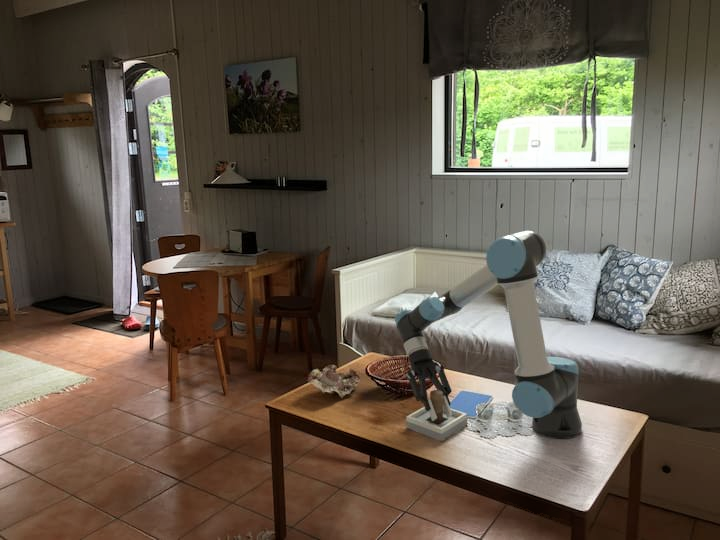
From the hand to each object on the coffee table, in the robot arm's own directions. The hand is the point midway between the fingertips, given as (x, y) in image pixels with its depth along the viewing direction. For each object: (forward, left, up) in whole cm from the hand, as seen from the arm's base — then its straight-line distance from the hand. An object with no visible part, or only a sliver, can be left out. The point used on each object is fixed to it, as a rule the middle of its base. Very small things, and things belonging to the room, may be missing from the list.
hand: (442, 417), depth 194 cm
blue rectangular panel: (+5, -22, -6) cm, 23 cm away
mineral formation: (+49, 0, -5) cm, 49 cm away
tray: (+3, -2, -5) cm, 6 cm away
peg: (+3, -2, -5) cm, 6 cm away
